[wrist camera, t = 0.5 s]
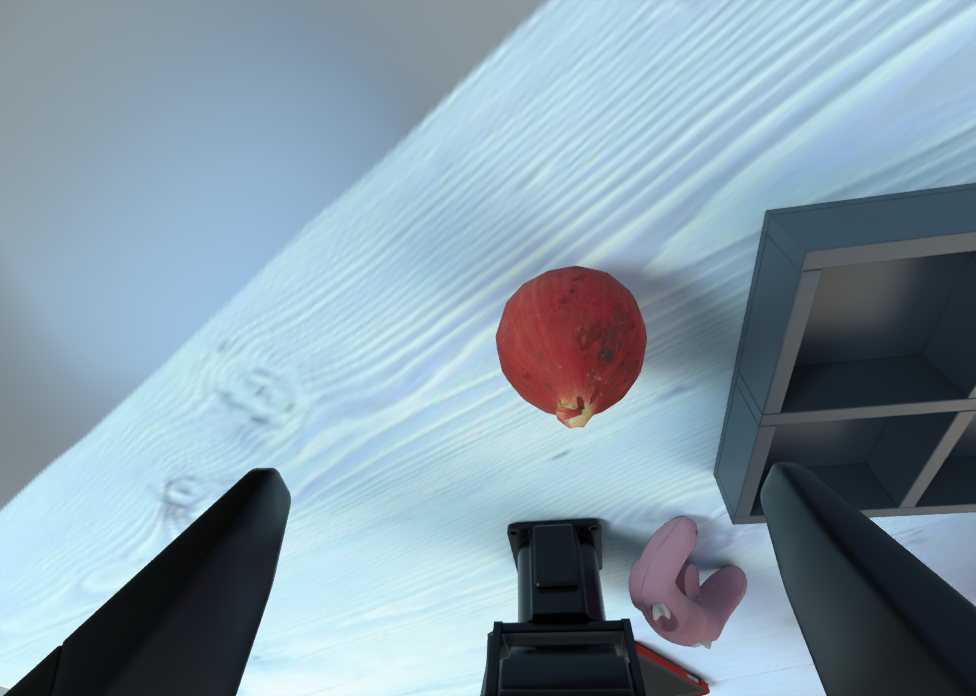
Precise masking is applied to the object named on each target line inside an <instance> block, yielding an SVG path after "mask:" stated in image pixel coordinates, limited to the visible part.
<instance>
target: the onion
mask: <svg viewBox="0 0 976 696" xmlns="http://www.w3.org/2000/svg"><path fill="white" fill-rule="evenodd" d="M646 341H647V336H646V329H645V324H644V321H643V319H642V316H641V313H640V311H639V308H638V305H637V302H636V300H635V299H634V297H633V296H632V294H631V292H630V291H629V290H628V289H627V288H625V287H624V286H623V285H622V284H621V283H619V282H618V281H617V280H616V279H614V278H613V277H612V276H611V275H609V274H608V273H605V272H602V271H598V270H593V269H589V268H584V267H580V266H572V267H566V268H561V269H556V270H550V271H547V272H546V273H544V274H542V275H540V276H538V277H536V278H534V279H532V280H530V281H528V282H526V283H524V284H523V285H522V286H521V287H520V288H519V289H518V291H517V292H516V293H515V294H514V295H513V296H512V297H511V298H510V299H509V300H508V301H507V303H506V306H505V309H504V312H503V315H502V318H501V321H500V324H499V327H498V331H497V334H496V343H497V351H498V355H499V359H500V364H501V368H502V372H503V373H504V375H505V376H506V378H507V380H508V381H509V382H510V383H511V385H512V386H513V387H514V388H515V390H516V391H517V392H518V393H519V395H520V396H521V397H522V398H523V399H524V400H526V401H527V402H529V403H530V404H532V405H534V406H535V407H537V408H539V409H541V410H542V411H544V412H546V413H549V414H554V415H557V419H558V420H559V421H561V422H562V423H563V424H564V425H566V426H567V427H568V428H574V427H584V426H585V425H586V423H587V422H588V421H589V419H590V418H591V417H592V416H593V415H594V414H598V413H601V412H603V411H605V410H606V409H608V408H609V407H611V406H612V405H614V404H615V403H617V402H618V401H620V400H621V399H622V398H623V397H624V396H625V395H626V394H627V392H628V391H629V389H630V388H631V386H632V385H633V384H634V382H635V381H636V379H637V377H638V376H639V374H640V372H641V369H642V364H643V360H644V354H645V348H646Z"/></svg>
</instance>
